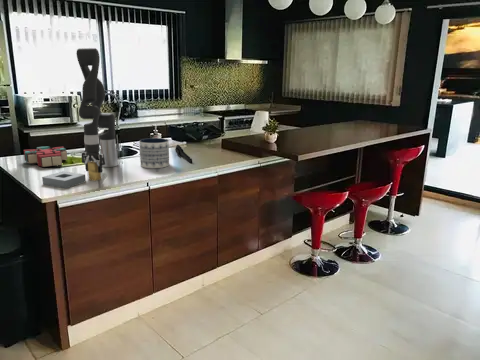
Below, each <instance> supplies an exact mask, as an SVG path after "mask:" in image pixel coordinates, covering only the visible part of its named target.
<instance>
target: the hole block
mask: <svg viewBox="0 0 480 360" xmlns="http://www.w3.org/2000/svg"><path fill="white" fill-rule="evenodd" d="M41 178H42V179H41V181H42V185H43V186H51V187H56V188H62V189H67V188H70V187H71V188H72V187H73V186H74V187H75V186H77V185H79V184H83V183H86V181H87V180H86V178H87V177H86V174H83V173H78V172H70V171H64V170H63V171H58V172H55V173H51V174H49V175H44V176H42V177H41Z"/></svg>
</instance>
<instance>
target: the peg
mask: <svg viewBox="0 0 480 360" xmlns="http://www.w3.org/2000/svg"><path fill="white" fill-rule="evenodd" d="M99 164H100V163H99ZM87 172H88V180H89V181H95V182H96V181H99V180H101V179H102V172H101V173H98V165H97V163H95V161H90V162H88V171H87Z"/></svg>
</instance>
